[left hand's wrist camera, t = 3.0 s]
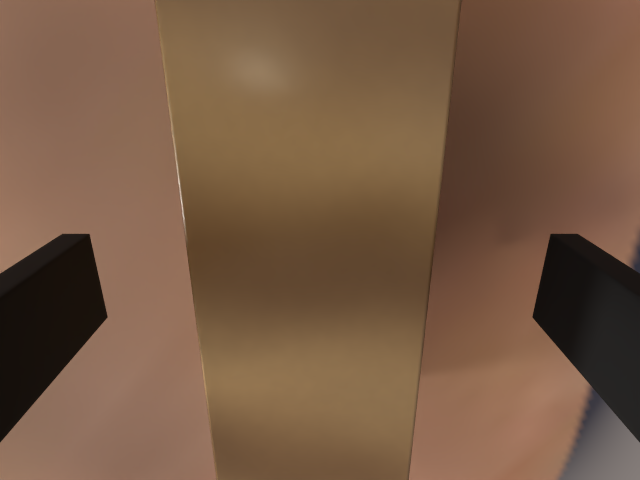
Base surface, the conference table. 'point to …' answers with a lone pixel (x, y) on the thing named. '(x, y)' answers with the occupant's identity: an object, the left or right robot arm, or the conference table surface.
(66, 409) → the conference table surface
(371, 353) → the post
